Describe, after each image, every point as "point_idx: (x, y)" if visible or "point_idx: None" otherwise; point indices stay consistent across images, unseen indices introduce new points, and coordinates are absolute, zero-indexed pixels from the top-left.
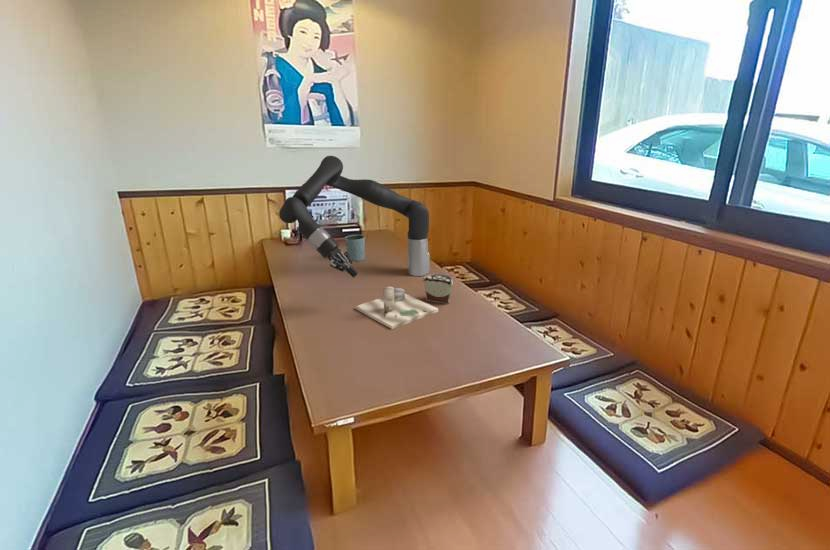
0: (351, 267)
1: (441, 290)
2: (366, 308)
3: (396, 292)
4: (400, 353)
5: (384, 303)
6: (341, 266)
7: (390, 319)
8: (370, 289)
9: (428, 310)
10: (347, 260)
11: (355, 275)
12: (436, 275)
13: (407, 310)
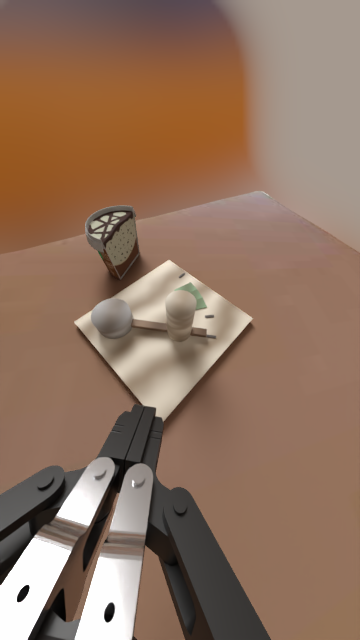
0: (126, 452)
1: (128, 240)
2: (174, 387)
3: (121, 313)
4: (322, 301)
5: (188, 332)
6: (224, 565)
7: (225, 324)
8: (12, 411)
9: (177, 271)
10: (65, 532)
11: (154, 415)
12: (88, 226)
13: None
